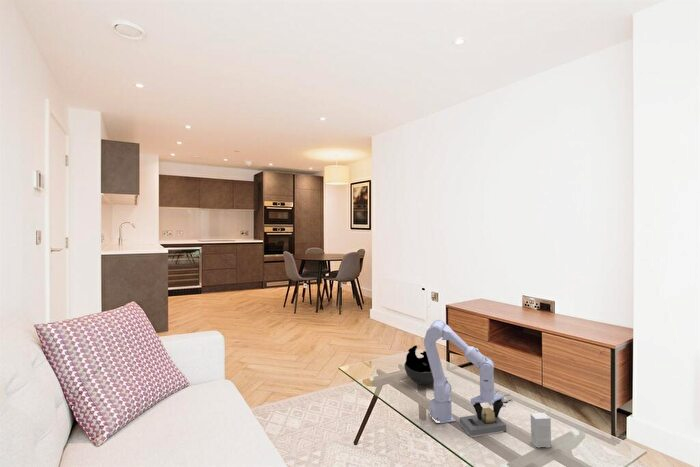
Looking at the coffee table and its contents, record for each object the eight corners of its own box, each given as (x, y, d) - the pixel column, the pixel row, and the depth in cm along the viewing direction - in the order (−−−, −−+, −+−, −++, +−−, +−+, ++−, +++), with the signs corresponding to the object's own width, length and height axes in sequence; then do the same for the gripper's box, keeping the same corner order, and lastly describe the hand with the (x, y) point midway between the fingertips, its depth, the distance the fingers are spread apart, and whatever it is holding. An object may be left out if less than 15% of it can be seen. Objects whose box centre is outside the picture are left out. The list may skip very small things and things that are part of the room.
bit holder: (471, 437, 153) (471, 430, 153) (459, 423, 163) (459, 417, 163) (506, 431, 156) (506, 424, 156) (492, 418, 166) (492, 412, 166)
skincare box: (545, 440, 149) (544, 412, 148) (551, 447, 145) (551, 418, 144) (530, 441, 149) (530, 413, 148) (536, 448, 144) (535, 419, 144)
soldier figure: (515, 406, 178) (498, 404, 173) (508, 409, 181) (491, 408, 175) (508, 389, 183) (491, 388, 178) (501, 393, 186) (484, 391, 181)
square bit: (486, 429, 157) (485, 413, 157) (481, 424, 161) (481, 408, 161) (494, 428, 158) (494, 412, 158) (489, 422, 162) (489, 407, 162)
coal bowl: (445, 390, 193) (444, 355, 192) (407, 392, 193) (406, 357, 192) (437, 374, 213) (436, 342, 212) (402, 375, 213) (401, 343, 212)
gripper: (476, 394, 154) (476, 425, 155) (507, 389, 156) (508, 420, 157) (467, 386, 161) (468, 416, 162) (498, 382, 163) (498, 412, 164)
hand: (487, 418), depth 160 cm, fingers open, 7 cm apart
